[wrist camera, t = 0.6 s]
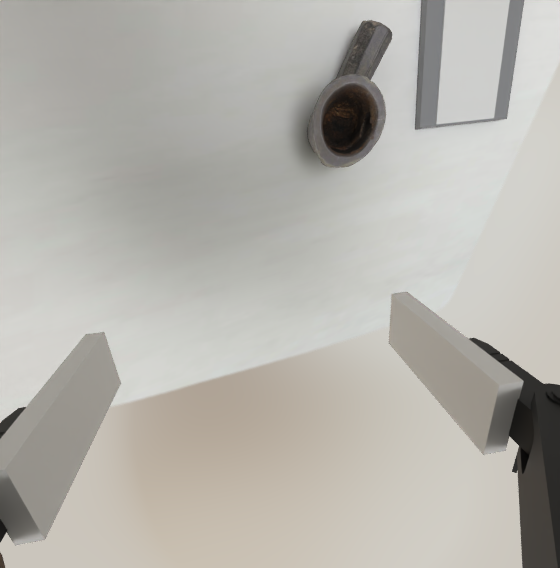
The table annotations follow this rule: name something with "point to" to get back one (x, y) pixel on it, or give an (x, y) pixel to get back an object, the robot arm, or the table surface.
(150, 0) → the table surface
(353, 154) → the pipe
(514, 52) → the base
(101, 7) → the table surface
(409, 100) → the table surface
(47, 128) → the table surface
